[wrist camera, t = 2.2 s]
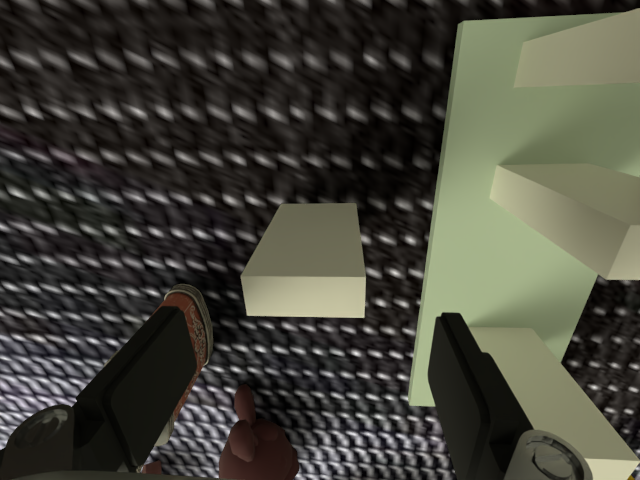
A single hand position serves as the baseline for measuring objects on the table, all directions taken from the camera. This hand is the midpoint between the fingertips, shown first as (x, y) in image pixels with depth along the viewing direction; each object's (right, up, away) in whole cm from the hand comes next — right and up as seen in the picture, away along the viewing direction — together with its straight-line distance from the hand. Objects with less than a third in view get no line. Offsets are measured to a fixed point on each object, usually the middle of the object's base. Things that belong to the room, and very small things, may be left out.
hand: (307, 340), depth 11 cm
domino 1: (0, +5, +9) cm, 11 cm away
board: (+13, +2, +10) cm, 17 cm away
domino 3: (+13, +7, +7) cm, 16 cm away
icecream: (-5, -16, +20) cm, 26 cm away
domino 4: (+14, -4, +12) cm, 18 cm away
